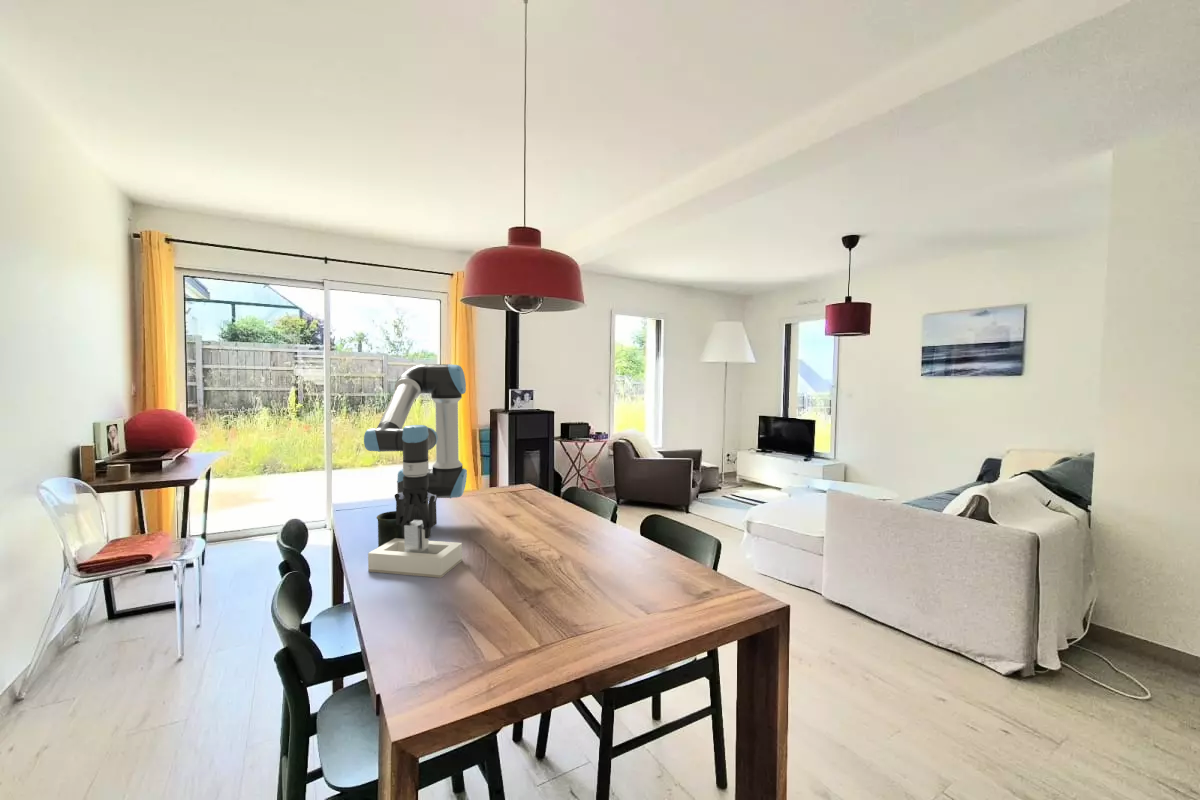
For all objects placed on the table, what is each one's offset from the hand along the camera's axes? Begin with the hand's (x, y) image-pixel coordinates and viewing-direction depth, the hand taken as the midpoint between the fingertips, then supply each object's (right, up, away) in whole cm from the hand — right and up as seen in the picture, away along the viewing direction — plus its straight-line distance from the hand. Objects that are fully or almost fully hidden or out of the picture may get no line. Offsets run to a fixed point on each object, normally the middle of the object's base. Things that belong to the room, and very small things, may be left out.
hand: (416, 547), depth 154 cm
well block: (0, -6, 0) cm, 6 cm away
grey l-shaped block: (+2, -5, 0) cm, 6 cm away
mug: (-15, -5, +16) cm, 22 cm away
